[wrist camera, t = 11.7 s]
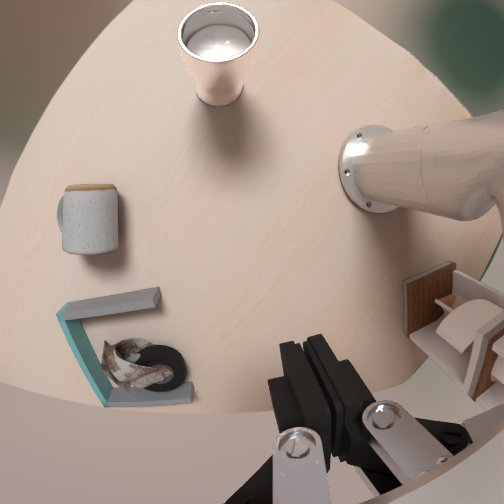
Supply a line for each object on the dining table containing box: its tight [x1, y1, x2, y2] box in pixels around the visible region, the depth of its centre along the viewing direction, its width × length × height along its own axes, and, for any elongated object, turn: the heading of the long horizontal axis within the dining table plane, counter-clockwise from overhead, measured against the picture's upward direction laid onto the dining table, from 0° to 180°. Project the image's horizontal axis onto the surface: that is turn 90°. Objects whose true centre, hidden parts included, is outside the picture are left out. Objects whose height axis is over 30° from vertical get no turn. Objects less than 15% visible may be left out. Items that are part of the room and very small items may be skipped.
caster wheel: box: [101, 338, 186, 395], centre depth 37 cm, size 7×11×10 cm
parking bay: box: [56, 287, 194, 407], centre depth 37 cm, size 16×18×4 cm
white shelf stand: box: [403, 261, 504, 412], centre depth 26 cm, size 11×11×35 cm
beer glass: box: [177, 2, 259, 106], centre depth 24 cm, size 7×7×15 cm
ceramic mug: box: [57, 184, 119, 255], centre depth 30 cm, size 11×8×8 cm
